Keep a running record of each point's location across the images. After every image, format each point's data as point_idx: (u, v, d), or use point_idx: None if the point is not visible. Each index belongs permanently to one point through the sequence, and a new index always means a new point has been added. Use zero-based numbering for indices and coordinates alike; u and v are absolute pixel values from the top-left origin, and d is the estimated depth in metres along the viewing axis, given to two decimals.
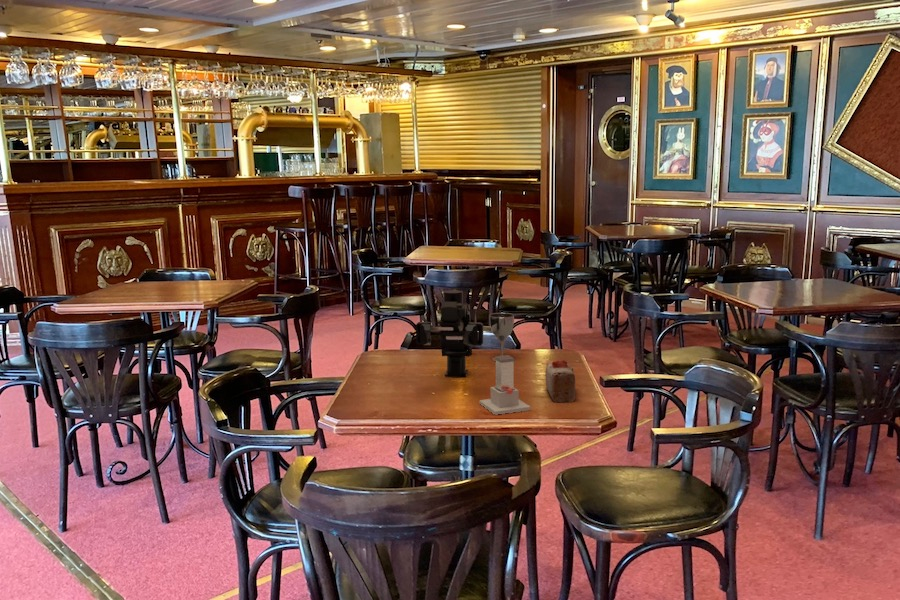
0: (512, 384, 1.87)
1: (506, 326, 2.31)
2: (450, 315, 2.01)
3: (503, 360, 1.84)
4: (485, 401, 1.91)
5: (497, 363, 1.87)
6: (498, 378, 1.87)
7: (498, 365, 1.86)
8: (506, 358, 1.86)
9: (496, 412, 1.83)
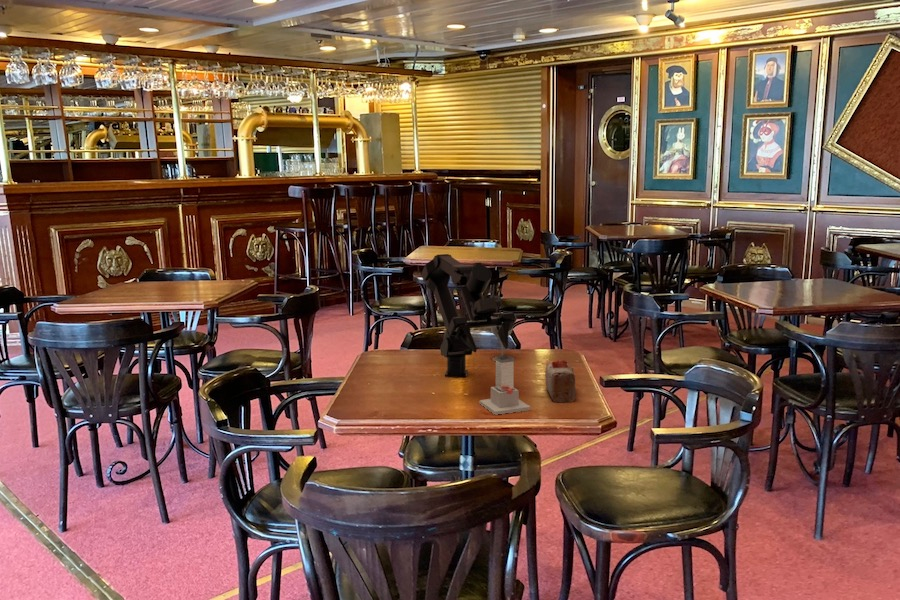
0: (512, 384, 1.87)
1: None
2: (486, 310, 1.95)
3: (503, 360, 1.84)
4: (485, 401, 1.91)
5: (497, 363, 1.87)
6: (498, 378, 1.87)
7: (498, 365, 1.86)
8: (506, 358, 1.86)
9: (496, 412, 1.83)
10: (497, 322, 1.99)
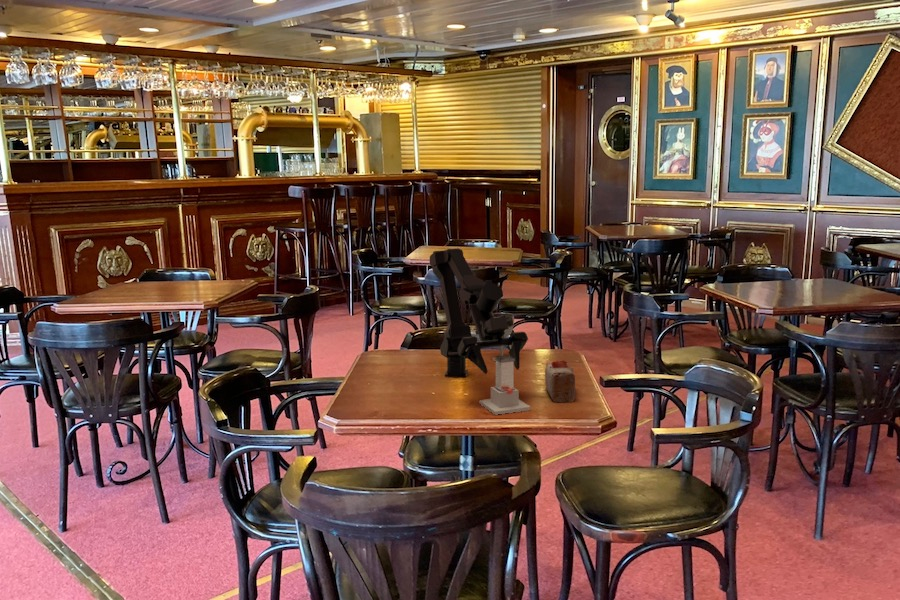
0: (512, 384, 1.87)
1: None
2: (497, 330, 1.90)
3: (503, 360, 1.84)
4: (485, 401, 1.91)
5: (497, 363, 1.87)
6: (498, 378, 1.87)
7: (498, 365, 1.86)
8: (506, 358, 1.86)
9: (496, 412, 1.83)
10: (508, 342, 1.94)
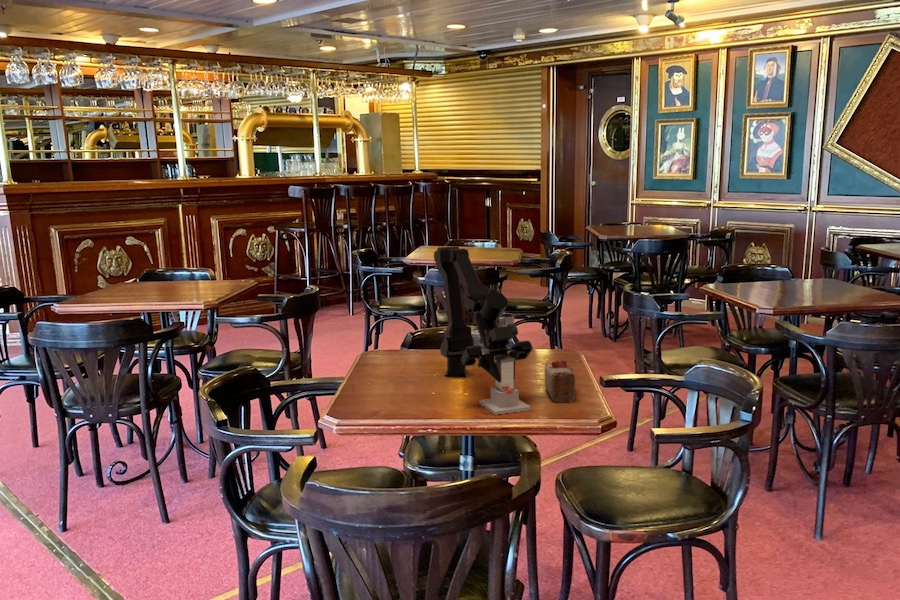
0: (512, 384, 1.87)
1: (506, 326, 2.31)
2: (502, 339, 1.88)
3: (503, 360, 1.84)
4: (485, 401, 1.91)
5: (497, 363, 1.87)
6: None
7: (498, 365, 1.86)
8: (506, 358, 1.86)
9: (496, 412, 1.83)
10: (512, 351, 1.92)
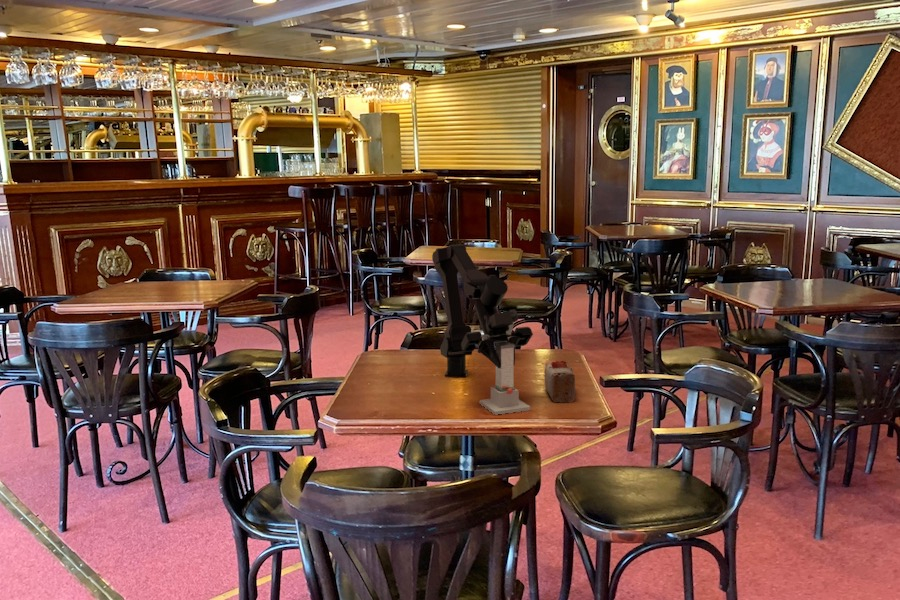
0: (512, 370, 1.86)
1: None
2: (502, 325, 1.87)
3: (503, 346, 1.84)
4: (485, 401, 1.91)
5: (497, 349, 1.86)
6: None
7: (498, 351, 1.86)
8: (506, 344, 1.85)
9: (496, 412, 1.83)
10: (512, 337, 1.91)
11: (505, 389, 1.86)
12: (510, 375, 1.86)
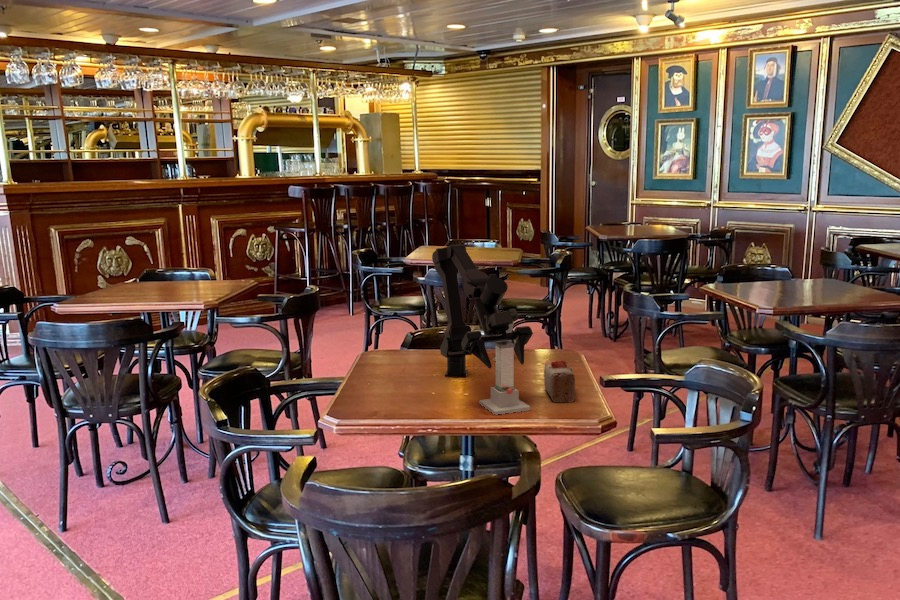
0: (512, 370, 1.86)
1: None
2: (502, 324, 1.87)
3: (503, 346, 1.84)
4: (485, 401, 1.91)
5: (497, 349, 1.86)
6: (498, 364, 1.86)
7: (498, 351, 1.86)
8: (506, 344, 1.85)
9: (496, 412, 1.83)
10: (512, 336, 1.91)
11: (505, 389, 1.86)
12: (510, 375, 1.86)
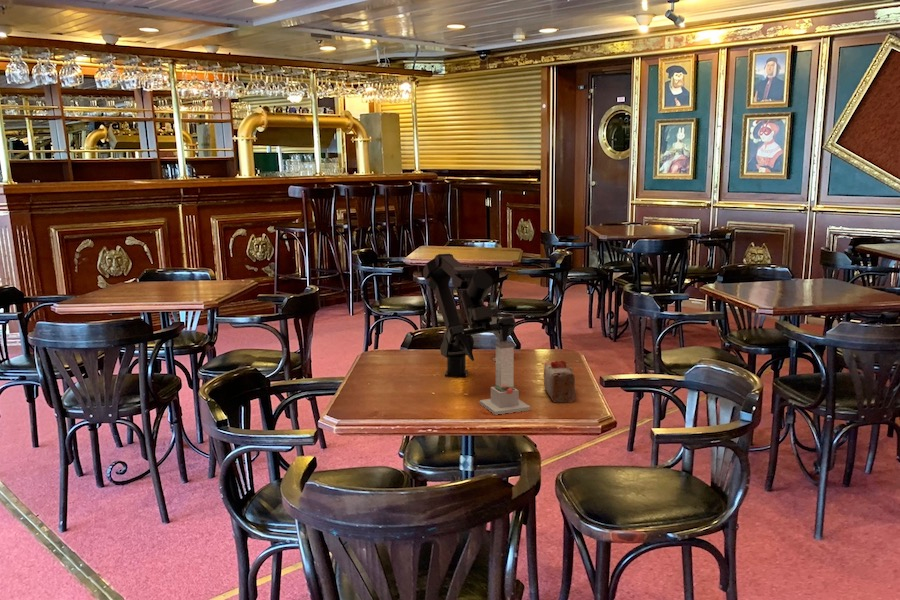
0: (512, 370, 1.86)
1: None
2: (483, 318, 1.95)
3: (503, 346, 1.84)
4: (485, 401, 1.91)
5: (497, 349, 1.86)
6: (498, 364, 1.86)
7: (498, 351, 1.86)
8: (506, 344, 1.85)
9: (496, 412, 1.83)
10: (496, 327, 1.99)
11: (505, 389, 1.86)
12: (510, 375, 1.86)
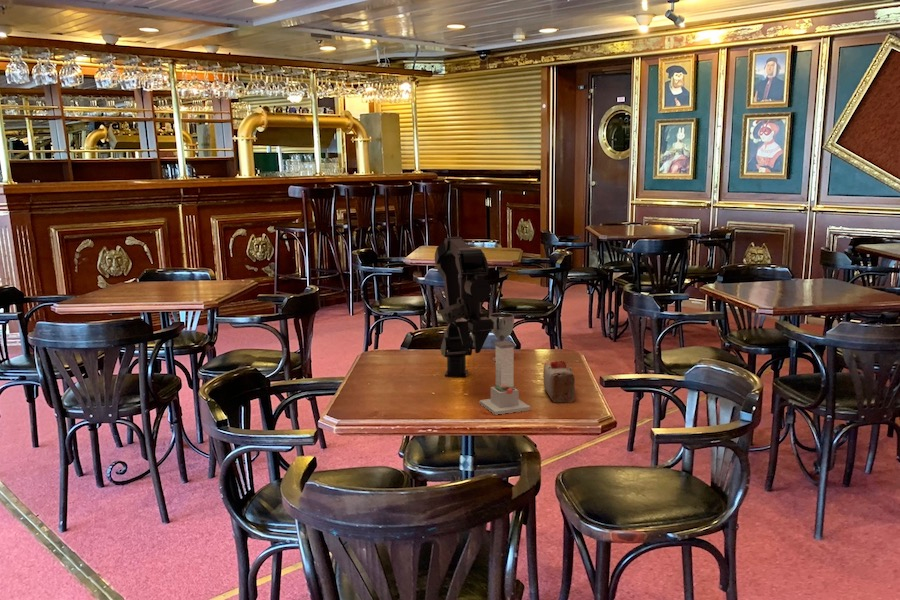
0: (512, 370, 1.86)
1: (506, 326, 2.31)
2: None
3: (503, 346, 1.84)
4: (485, 401, 1.91)
5: (497, 349, 1.86)
6: (498, 364, 1.86)
7: (498, 351, 1.86)
8: (506, 344, 1.85)
9: (496, 412, 1.83)
10: None
11: (505, 389, 1.86)
12: (510, 375, 1.86)
